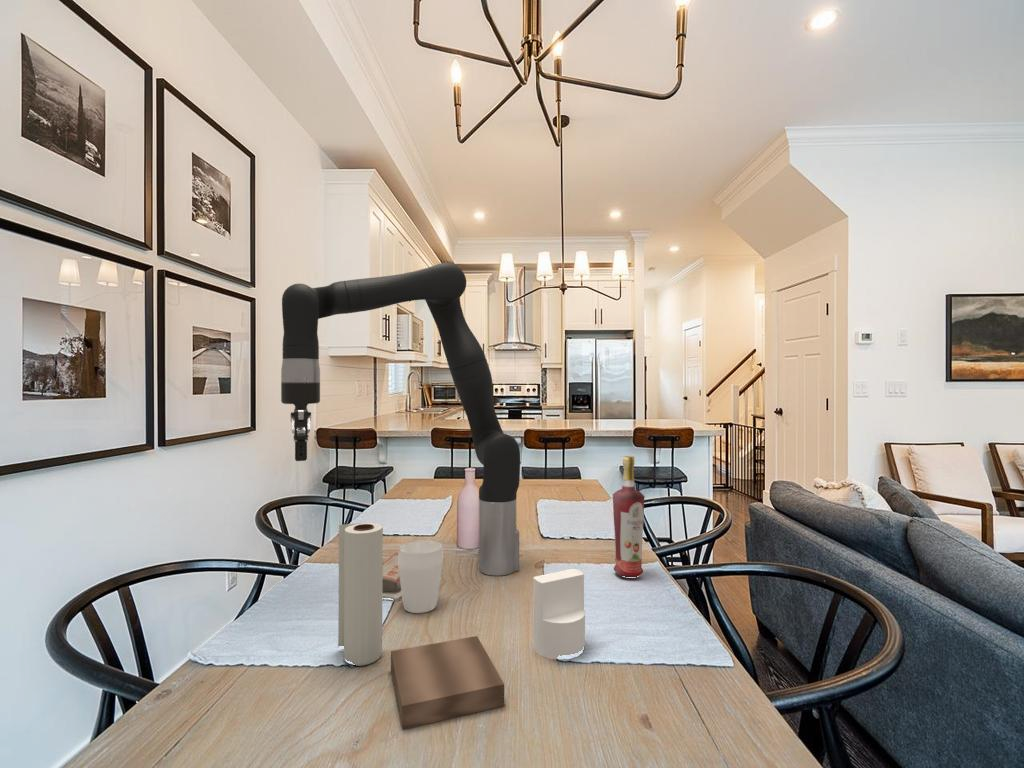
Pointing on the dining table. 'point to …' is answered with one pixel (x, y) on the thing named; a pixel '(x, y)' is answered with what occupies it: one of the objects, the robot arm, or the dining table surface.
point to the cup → (420, 574)
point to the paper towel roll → (360, 592)
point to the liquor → (628, 524)
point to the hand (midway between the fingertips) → (300, 458)
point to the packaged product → (391, 579)
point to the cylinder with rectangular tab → (558, 613)
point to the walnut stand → (444, 681)
